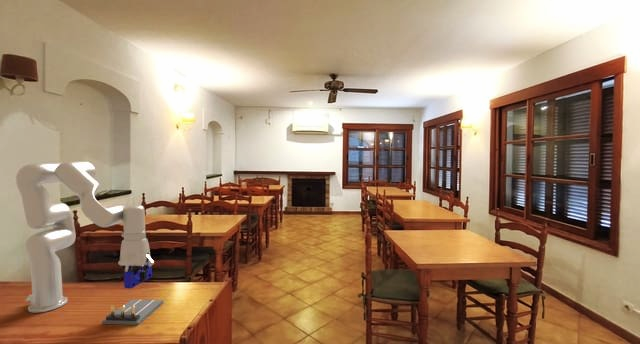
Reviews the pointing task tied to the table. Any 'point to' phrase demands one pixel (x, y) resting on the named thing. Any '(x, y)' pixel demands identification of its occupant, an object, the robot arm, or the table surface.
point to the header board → (137, 311)
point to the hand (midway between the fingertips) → (136, 280)
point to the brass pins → (123, 314)
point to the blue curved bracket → (135, 278)
